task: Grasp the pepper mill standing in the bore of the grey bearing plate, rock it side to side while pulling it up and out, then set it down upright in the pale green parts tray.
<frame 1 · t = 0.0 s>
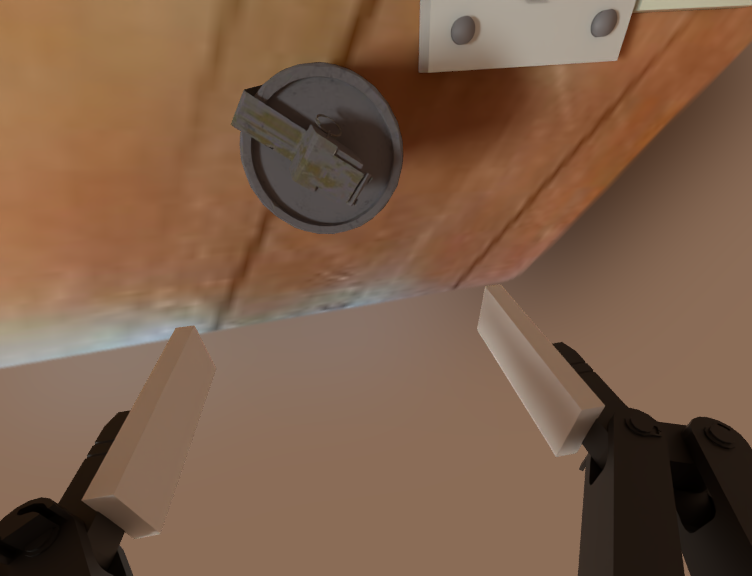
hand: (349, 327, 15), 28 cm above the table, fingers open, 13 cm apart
canister: (319, 122, 35), on the table
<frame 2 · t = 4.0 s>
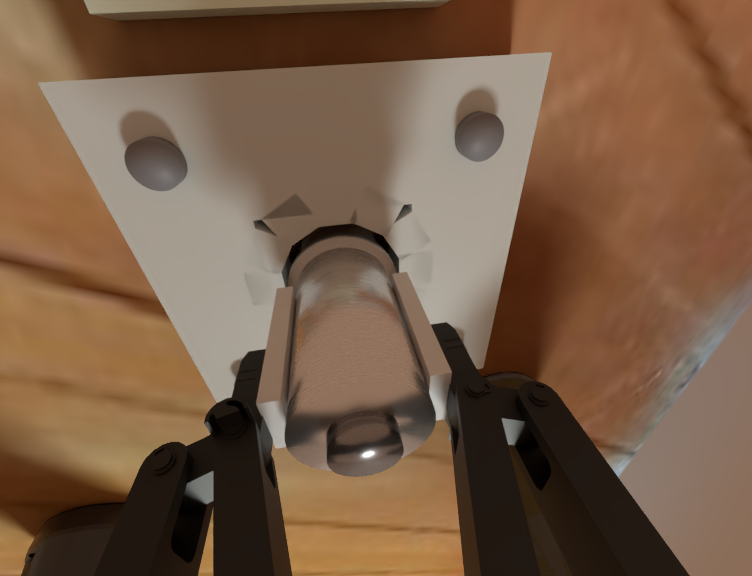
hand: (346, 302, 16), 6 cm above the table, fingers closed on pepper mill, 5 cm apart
canister: (488, 403, 35), on the table
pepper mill: (339, 250, 21), resting in bearing plate, touching gripper
bearing plate: (339, 250, 21), on the table
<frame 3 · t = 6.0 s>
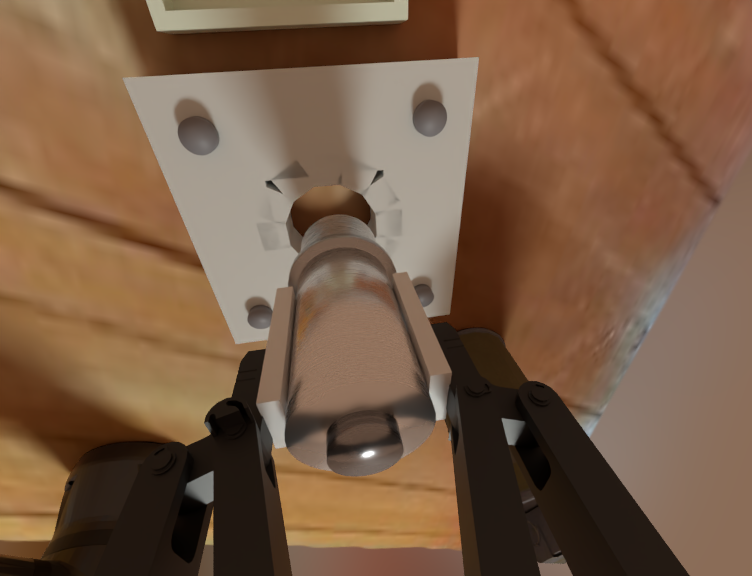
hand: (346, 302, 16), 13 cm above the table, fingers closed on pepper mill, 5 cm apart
canister: (462, 358, 40), on the table
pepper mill: (339, 250, 21), point 7 cm above the table, touching gripper
bearing plate: (331, 212, 26), on the table
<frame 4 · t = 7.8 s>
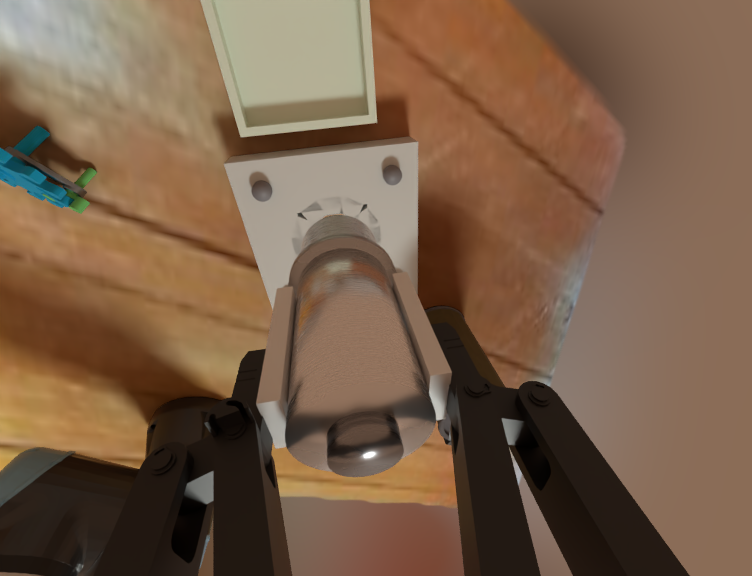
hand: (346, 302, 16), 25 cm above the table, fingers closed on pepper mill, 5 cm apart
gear: (43, 161, 32), on the table
canister: (434, 329, 54), on the table
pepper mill: (339, 250, 21), point 20 cm above the table, touching gripper
bearing plate: (335, 228, 41), on the table
parts tray: (296, 45, 30), on the table
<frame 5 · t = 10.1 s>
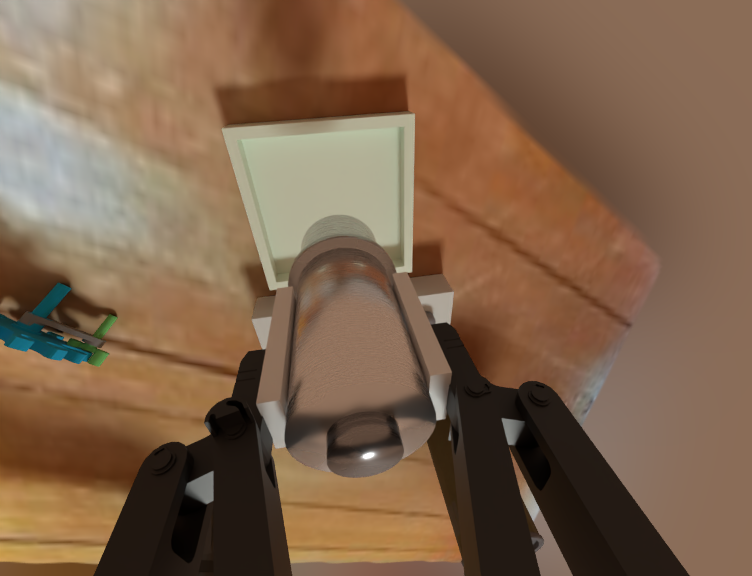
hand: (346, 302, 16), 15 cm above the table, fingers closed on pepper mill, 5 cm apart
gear: (61, 308, 30), on the table
canister: (451, 425, 53), on the table
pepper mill: (339, 250, 21), point 9 cm above the table, touching gripper
bearing plate: (359, 351, 39), on the table
parts tray: (332, 204, 28), on the table
when the fingers open (8 cm above the table, at t = 11.9 s): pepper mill drops 1 cm, resting on parts tray.
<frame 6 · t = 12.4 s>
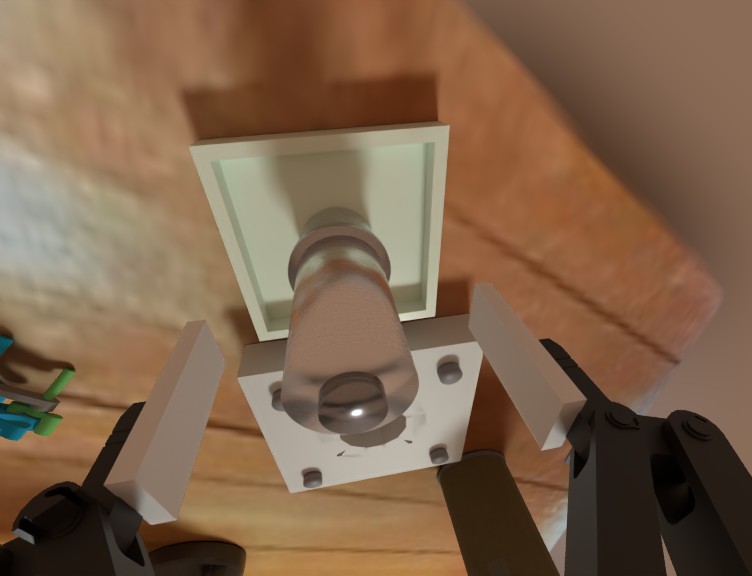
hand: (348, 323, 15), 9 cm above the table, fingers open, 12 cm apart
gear: (3, 361, 24), on the table
canister: (469, 467, 47), on the table
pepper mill: (337, 241, 22), point 1 cm above the table, touching parts tray
bearing plate: (368, 398, 34), on the table
parts tray: (337, 237, 23), on the table
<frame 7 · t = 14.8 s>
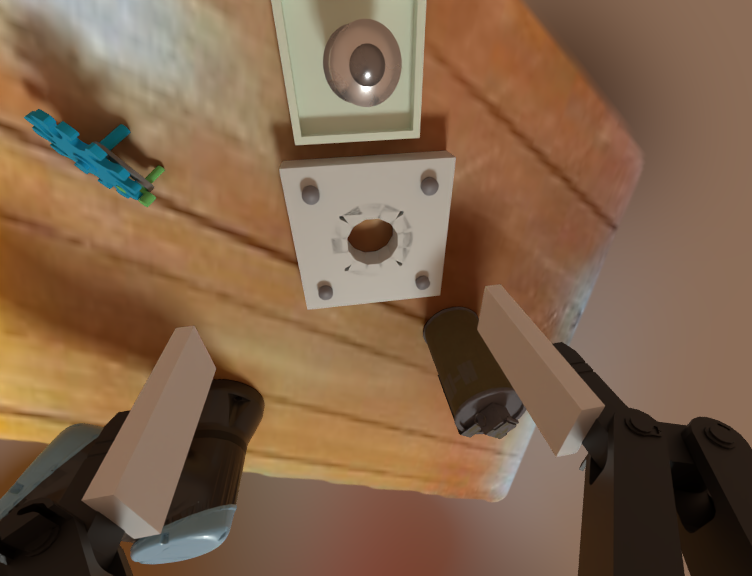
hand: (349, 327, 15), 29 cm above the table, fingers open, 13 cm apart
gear: (116, 154, 35), on the table
canister: (449, 328, 58), on the table
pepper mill: (352, 65, 32), point 1 cm above the table, touching parts tray
bearing plate: (369, 231, 44), on the table
parts tray: (352, 64, 33), on the table
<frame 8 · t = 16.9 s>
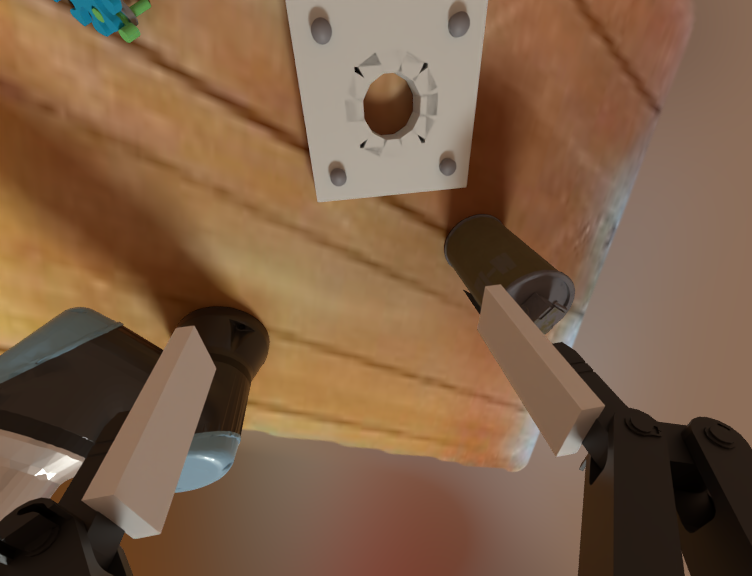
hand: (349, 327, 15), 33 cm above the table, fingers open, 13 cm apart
canister: (473, 244, 52), on the table
bearing plate: (386, 105, 39), on the table
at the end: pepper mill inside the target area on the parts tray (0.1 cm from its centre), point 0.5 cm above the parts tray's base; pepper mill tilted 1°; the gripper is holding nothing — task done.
